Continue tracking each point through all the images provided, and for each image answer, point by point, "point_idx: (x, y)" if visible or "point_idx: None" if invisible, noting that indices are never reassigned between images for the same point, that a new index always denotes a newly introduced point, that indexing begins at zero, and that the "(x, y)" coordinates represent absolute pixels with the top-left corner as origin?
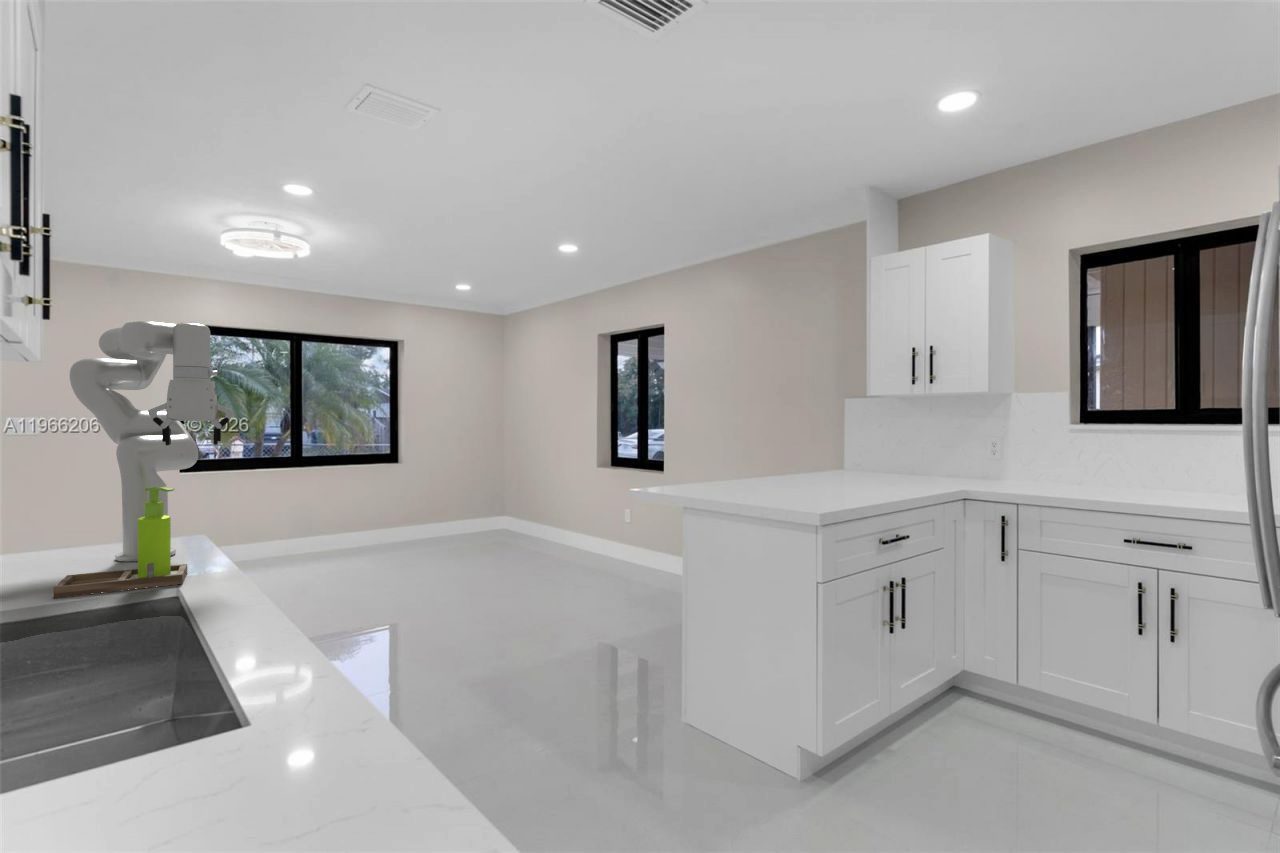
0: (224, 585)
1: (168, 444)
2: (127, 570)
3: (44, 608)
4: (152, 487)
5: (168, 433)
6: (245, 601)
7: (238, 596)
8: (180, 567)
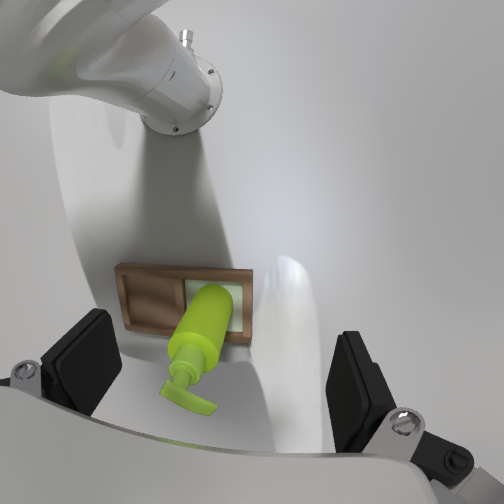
0: (298, 362)
1: (118, 365)
2: (176, 278)
3: (139, 357)
4: (172, 398)
5: (94, 405)
6: (310, 419)
7: (306, 405)
8: (244, 297)
